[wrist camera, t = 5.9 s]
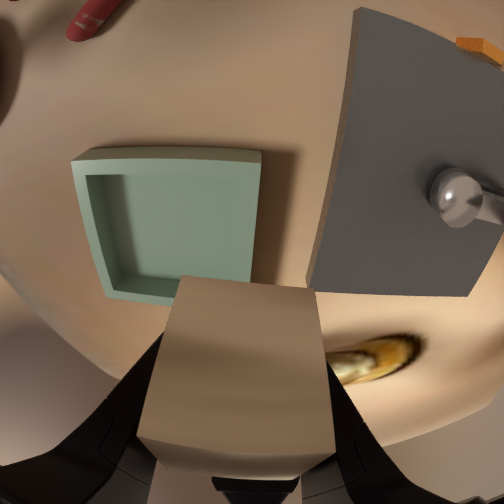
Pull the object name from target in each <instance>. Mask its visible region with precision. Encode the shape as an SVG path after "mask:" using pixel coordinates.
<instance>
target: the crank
mask: <svg viewBox="0 0 504 504" xmlns="http://www.w3.org/2000/svg"><path fill="white" fill-rule="evenodd" d="M430 203H431V205H432V207H433V209H434V210H435V211H436V212H437V213H438V215H439V216H440V217H441V218H442V219H443V220H444V221H445V223H446V224H447V225H448V226H450V227H453V228H461V227H464V226H466V225H468V224H469V223H470V222H472V221H473V220H474V219H475V218H476V219H481V220H485V221H489V222H493V223H497V224H500V225H503V226H504V197H501V196H498V195H496V194H493V193H490V192H487V191H484V190H482V189H481V186H480V185H479V183H478V182H476V181H475V180H474V179H473V178H471V177H470V176H469V175H468V174H466V173H465V172H464V171H462V170H461V169H459V168H448V169H446V170H444V171H442V172H441V173H440V174H439V175H438V176H437V177H436V178H435V180H434V182H433V184H432V186H431V189H430Z"/></svg>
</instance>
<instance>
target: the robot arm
mask: <svg viewBox="0 0 504 504" xmlns="http://www.w3.org/2000/svg"><path fill="white" fill-rule="evenodd" d="M164 331H165V330H164ZM163 334H164V332H163V333H162V334H161V335H160V336H159V337H158V338H157V340H156V341H155V342H154V343H153V344H152V345H151V346H150V348H149V349H148V350H147V351H146V352H145V353H144V354H143V356H142V357H141V358H140V359H139V360H138V361H137V362H136V364H135V365H134V366H133V367H132V368H131V369H130V370H129V372H128V373H127V374H126V375H125V376H124V377H123V379H122V380H121V381H120V382H119V383H118V384H117V385H116V387H115V388H114V389H113V390H112V391H111V392H110V394H109V395H108V396H107V399H104V401H103V402H102V403H101V404H100V405H99V406H98V408H97V409H96V410H95V411H94V412H93V413H92V414H91V415H90V416H89V417H88V418H87V419H86V420H85V421H84V422H83V423H82V424H81V425H80V426H79V427H77V428H76V429H75V430H74V431H73V432H72V433H71V434H70V435H69V436H67V437H66V438H65V439H64V440H63V441H62V442H61V443H60V444H59V445H57V446H56V447H55V448H54V449H52V450H50V451H48V452H47V453H44V454H42V455H39V456H36V457H32V458H29V459H26V460H23V461H20V462H17V463H13V464H10V465H6V466H1V465H0V504H147V500H148V495H149V491H150V485H151V482H152V478H153V474H154V470H155V466H156V462H157V459H156V458H155V456H154V455H153V454H152V453H151V452H150V451H149V450H148V449H147V447H146V446H145V445H144V444H143V443H142V442H141V441H140V439H139V438H138V437H137V431H138V427H139V423H140V419H141V415H142V411H143V407H144V403H145V399H146V395H147V391H148V387H149V383H150V380H151V376H152V372H153V369H154V365H155V362H156V358H157V355H158V351H159V348H160V344H161V341H162V337H163ZM325 360H326V359H325ZM326 367H327V375H328V382H329V390H330V399H331V408H332V417H333V426H334V437H335V448H336V452H335V453H334V454H332V455H331V456H329V457H328V458H327V459H325V460H323V461H322V462H320V463H319V464H317V465H316V466H314V467H313V468H311V469H309V470H308V471H306V472H304V473H303V474H301V487H302V504H504V494H501V495H499V496H497V497H494V498H492V499H489V500H486V501H485V500H484V499H483V498H481V497H480V496H475V497H471V498H468V499H466V500H463V501H460V502H457V503H454V502H451V501H449V500H447V499H444V498H442V497H440V496H438V495H436V494H434V493H431V492H429V491H427V490H425V489H423V488H421V487H419V486H417V485H415V484H414V483H412V482H411V481H410V480H408V479H407V478H406V477H405V476H404V474H403V473H402V472H401V471H400V470H399V468H398V467H397V466H396V465H395V463H394V462H393V461H392V460H391V458H390V457H389V456H388V455H387V454H386V452H385V451H384V450H383V448H382V447H381V446H380V444H379V443H378V442H377V440H376V439H375V437H374V436H373V434H372V433H371V431H370V430H369V428H368V426H367V425H366V423H365V422H364V420H363V418H362V417H361V415H360V413H359V412H358V410H357V409H356V407H355V405H354V404H353V402H352V400H351V399H350V397H349V396H348V394H347V392H346V391H345V389H344V388H343V386H342V384H341V383H340V381H339V379H338V378H337V376H336V375H335V373H334V371H333V370H332V368H331V367H330V365H329V363H328V362H327V360H326ZM299 479H300V475H299V476H298V477H296V478H294V479H293V480H253V479H236V478H224V477H214V476H212V483H213V485H214V487H215V488H216V490H217V491H221V492H222V493H223V495H224V496H225V498H226V499H227V501H228V502H229V503H230V504H281V503H282V502H283V501H284V500H285V498H286V497H287V496H288V494H289V493H292V492H293V491H294V489H295V488H296V486H297V484H298V481H299Z"/></svg>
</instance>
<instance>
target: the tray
mask: <svg viewBox="0 0 504 504" xmlns="http://www.w3.org/2000/svg"><path fill="white" fill-rule="evenodd" d="M261 160H262V150H250V149H236V148H219V147H193V146H132V147H108V148H92V149H88V150H87V151H85V152H84V153H82V154H81V155H79V156H78V157H76V158H75V159H73V160H72V161H71V165H72V171H73V176H74V182H75V187H76V192H77V197H78V201H79V206H80V210H81V215H82V219H83V223H84V227H85V231H86V234H87V238H88V242H89V245H90V249H91V252H92V256H93V259H94V262H95V265H96V269H97V272H98V275H99V278H100V281H101V284H102V287H103V290H104V293H105V295H106V297H108V298H114V299H121V300H128V301H134V302H142V303H149V304H156V305H164V306H172V305H173V302H174V298H175V295H176V292H177V289H178V286H179V283H180V280H181V277H182V275H188V276H196V277H204V278H213V279H222V280H231V281H240V282H249V283H250V277H251V267H252V256H253V246H254V235H255V225H256V215H257V204H258V194H259V183H260V173H261Z"/></svg>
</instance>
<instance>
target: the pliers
mask: <svg viewBox="0 0 504 504" xmlns="http://www.w3.org/2000/svg"><path fill="white" fill-rule="evenodd" d="M9 1H18V0H9ZM122 1H123V0H88V1H87V2H86V3H85V5H84V6H83V7H82V9H81V10H80V11H79V13H78V14H77V15H76V17H75V18H74V19H73V21H72V22H71V24H70V25H69V27H68V29H67V32H66V37H67V38H68V39H69V40H71V41H75V42H81V41H85V40H87V39H89V38H90V37H92V36H93V35H94V34H95V33H96V32H97V30H98V29H99V28H100V26H101V25H102V24H103V23H104V21H105V20H106V19H107V18H108V17H109V15H110V14H111V13H112V12H113V11H114V10H115V8H116V7H117V6H118V5H119V4H120V3H121V2H122Z"/></svg>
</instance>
